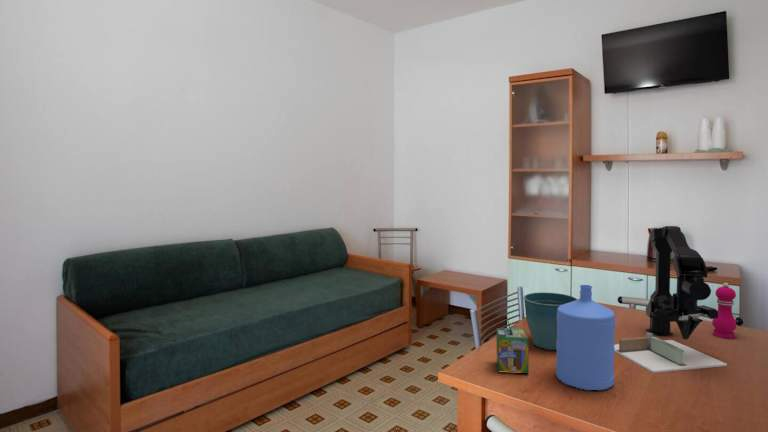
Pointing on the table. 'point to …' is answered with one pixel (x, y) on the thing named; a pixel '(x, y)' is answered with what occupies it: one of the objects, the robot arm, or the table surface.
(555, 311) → the flower pot
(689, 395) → the table surface
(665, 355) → the hinged panel
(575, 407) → the table surface
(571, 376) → the water jug
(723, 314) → the pepper mill
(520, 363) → the chalk box
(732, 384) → the table surface
